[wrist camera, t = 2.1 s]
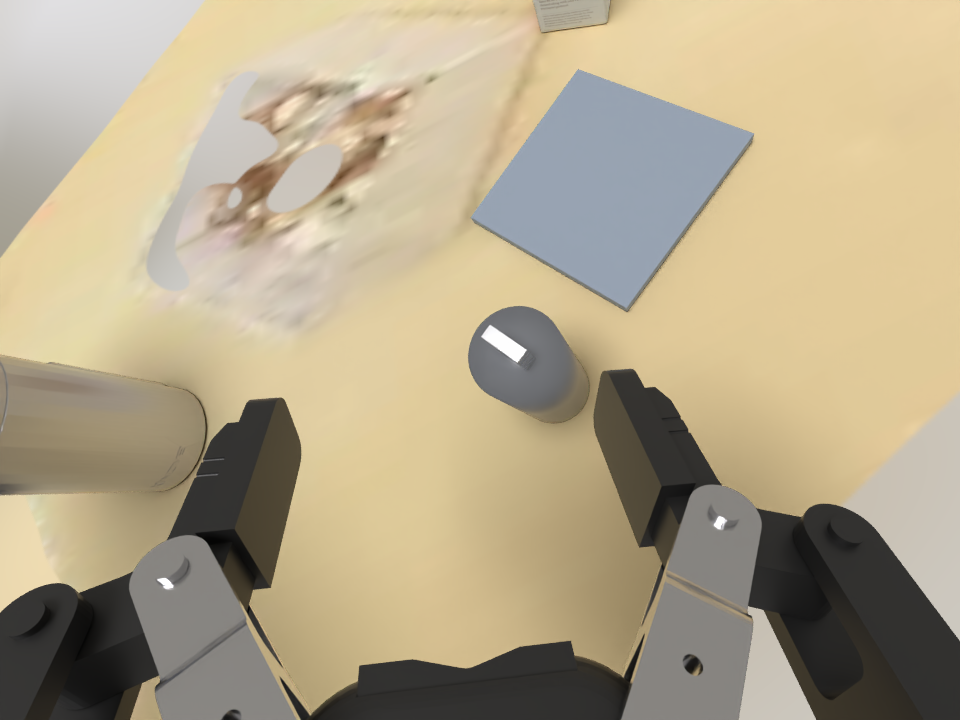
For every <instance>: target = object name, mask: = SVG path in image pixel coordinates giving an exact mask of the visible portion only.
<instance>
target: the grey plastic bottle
mask: <svg viewBox="0 0 960 720" xmlns="http://www.w3.org/2000/svg"><path fill="white" fill-rule="evenodd" d="M468 361H469V368H470V371H471V374H472V376H473V378H474V380H475V382H476V383H477V384H478V386H479V387H480V388H481V389H482V390H483V391H484V392H486V393H487V394H489V395H490V396H492V397H494V398H496V399H498V400H500V401H502V402H504V403H506V404H508V405H510V406H512V407H514V408H516V409H518V410H520V411H522V412H524V413H526V414H528V415H530V416H532V417H534V418H536V419H538V420H540V421H543V422H547V423H560V422H564V421H567V420H569V419H571V418H573V417H574V416H576V415H577V414H578V413H579V412H580V411H581V410H582V408H583V407H584V405H585V403H586V401H587V399H588V395H589V380H588V377H587V374H586V372H585V370H584V368H583V367H582V365H581V364H580V362H579V361H578V359H577V358H576V356H575V355H574V353H573V352H572V350H571V348H570V347H569V345H568V344H567V342H566V341H565V339H564V338H563V336H562V335H561V333H560V332H559V330H558V329H557V327H556V326H555V324H554V323H553V322H552V320H551V319H550V318H549V317H547V316H546V315H545V314H543V313H542V312H540V311H538V310H536V309H533V308H529V307H524V306H514V307H508V308H504V309H501V310H499V311H497V312H495V313H493V314H492V315H490V316H489V317H488V318H486V319H485V320H484V321H483V322H482V323H481V324H480V326H479V327H478V328H477V330H476V331H475V333H474V335H473V337H472V340H471V343H470V347H469V353H468Z"/></svg>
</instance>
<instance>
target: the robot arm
mask: <svg viewBox="0 0 960 720" xmlns="http://www.w3.org/2000/svg"><path fill="white" fill-rule="evenodd" d="M680 417H681V416H680V415H679V413H678V411H677V410H676V408H675V406H674V404H673V403H672V401H671V400H670V399H669V398H668V397H666V396H665V395H664V394H663V393H662V392H660V391H659V390H658V389H657V388H656V387H650V388H644V386H643V384H642V382H641V380H640V378H639V377H638V375H637V373H636V372H635V370H633V369H624V370H611V371H603V372H602V374H601V378H600V383H599V388H598V393H597V399H596V404H595V409H594V428H595V433H596V436H597V439H598V442H599V444H600V447H601V449H602V452H603V455H604V457H605V460H606V462H607V465H608V468H609V470H610V473H611V475H612V478H613V481H614V483H615V486H616V488H617V491H618V494H619V496H620V499H621V502H622V504H623V507H624V509H625V512H626V515H627V517H628V520H629V522H630V525H631V528H632V530H633V533H634V535H635V538H636V541H637V543H638V546H639V547H649V546H655V548H656V550H657V553H658V555H659V557H660V560H661V564H660V567H659V570H658V573H657V576H656V579H655V582H654V585H653V588H652V591H651V594H650V597H649V600H648V603H647V606H646V609H645V612H644V615H643V618H642V621H641V624H640V627H639V630H638V633H637V636H636V638H635V641H634V644H633V646H632V649H631V651H630V654H629V657H628V659H627V662H626V665H625V668H624V671H623V674H622V676H621V675H619V674H618V673H616V672H614V671H613V670H611V669H610V668H608V667H606V666H604V665H602V664H600V663H598V662H596V661H593V660H590V659H587V658H584V657H579V656H574V652H573V648H572V643H571V641H566V642H557V643H548V644H540V645H531V646H523V647H519V648H516V649H514V650H512V651H509V652H507V653H505V654H502V655H500V656H498V657H495V658H493V659H491V660H488V661H486V662H484V663H481V664H479V665H477V666H475V667H472V668H467V669H465V668H458V667H452V666H446V665H441V664H435V663H430V662H424V661H418V660H413V659H412V660H403V661H395V662H386V663H378V664H369V665H361V666H359V676H358V682H356V683H353V684H351V685H349V686H347V687H346V688H344V689H342V690H340V691H339V692H337V693H336V694H334V695H333V696H332V697H330V698H329V699H328V700H326V701H325V702H324V703H323V704H322V705H321V706H320V707H319V708H317V709H316V710H315V711H314V712H313V713H312V712H311V711H310V709H309V707H308V705H307V704H306V702H305V700H304V698H303V697H302V695H301V693H300V692H299V690H298V688H297V687H296V685H295V684H294V682H293V680H292V679H291V677H290V675H289V674H288V672H287V670H286V668H285V666H284V665H283V663H282V661H281V659H280V657H279V655H278V654H277V652H276V650H275V648H274V646H273V644H272V643H271V641H270V639H269V637H268V635H267V634H266V632H265V630H264V628H263V626H262V624H261V623H260V621H259V619H258V617H257V615H256V613H255V612H254V610H253V608H252V607H251V605H250V604H249V602H250V599H251V595H252V591H253V590H255V589H264V588H271V584H272V580H273V576H274V572H275V567H276V563H277V559H278V555H279V551H280V546H281V542H282V538H283V534H284V530H285V525H286V521H287V517H288V513H289V509H290V504H291V500H292V496H293V492H294V488H295V484H296V479H297V475H298V471H299V467H300V462H301V444H300V439H299V436H298V434H297V431H296V428H295V426H294V423H293V420H292V418H291V415H290V412H289V410H288V407H287V404H286V402H285V400H284V399H283V398H268V399H256V400H249V401H248V402H247V403H246V405H245V408H244V410H243V413H242V415H241V418H240V420H239V422H235V423H227V424H226V425H225V426H224V427H223V428H222V429H221V430H220V432H219V433H218V434H217V435H216V436H215V437H214V438H213V439H212V440H211V442H210V444H209V447H208V449H207V451H206V453H205V456H204V458H203V463H201V465H200V467H199V469H198V472H197V474H196V475H197V477H196V478H194V481H193V483H192V485H191V488H190V490H189V492H188V494H187V497H186V499H185V501H184V503H183V506H182V508H181V510H180V513H179V515H178V517H177V519H176V522H175V524H174V526H173V528H172V531H171V533H170V535H169V537H168V539H167V541H165V542H163V543H161V544H159V545H158V546H156V547H155V548H153V549H152V550H151V551H150V552H148V553H147V554H146V555H145V556H144V557H143V558H142V559H141V561H140V562H139V563H138V564H137V566H136V568H135V569H134V571H133V572H131V573H129V574H127V575H125V576H122V577H120V578H117V579H115V580H112V581H110V582H107V583H104V584H102V585H99V586H96V587H94V588H91V589H88V590H86V591H83V592H80V593H78V592H77V591H76V590H75V589H73V588H72V587H71V586H69V585H66V584H61V583H55V584H48V585H44V586H41V587H38V588H36V589H33V590H31V591H29V592H27V593H25V594H24V595H22V596H20V597H19V598H17V599H16V600H15V601H13V602H12V603H11V604H9V605H8V606H7V607H6V608H5V609H4V610H3V611H2V612H1V613H0V720H130V718H131V715H132V712H133V709H134V706H135V703H136V700H137V697H138V694H139V691H140V688H141V685H142V683H143V682H145V681H148V680H150V679H152V678H154V677H156V676H160V683H159V684H158V685H156V687H155V696H156V701H157V704H158V707H159V710H160V713H161V716H162V719H163V720H738V719H739V712H740V706H741V700H742V694H743V688H744V682H745V676H746V670H747V663H748V657H749V651H750V645H751V639H752V632H753V619H752V616H750V615H748V612H747V609H748V606H750V607H754V608H758V609H762V610H764V612H765V614H766V616H767V618H768V620H769V622H770V624H771V626H772V628H773V631H774V633H775V635H776V637H777V639H778V641H779V643H780V645H781V647H782V649H783V651H784V653H785V655H786V658H787V659H788V662H789V664H790V666H791V668H792V670H793V672H794V674H795V676H796V678H797V680H798V682H799V685H800V686H801V689H802V691H803V693H804V695H805V697H806V699H807V701H808V703H809V705H810V707H811V709H812V711H813V714H814V716H815V717H816V720H960V641H959V639H958V638H957V637H956V635H955V634H954V633H953V632H952V630H951V629H950V627H949V626H948V625H947V623H946V622H945V621H944V620H943V618H942V617H941V616H940V614H939V613H938V612H937V610H936V609H935V608H934V606H933V605H932V604H931V602H930V601H929V600H928V598H927V597H926V596H925V594H924V593H923V592H922V590H921V589H920V588H919V586H918V585H917V584H916V582H915V581H914V580H913V578H912V577H911V576H910V575H909V573H908V572H907V570H906V569H905V568H904V566H903V565H902V564H901V562H900V561H899V560H898V558H897V557H896V556H895V555H894V553H893V552H892V550H891V549H890V548H889V546H888V545H887V544H886V542H885V541H884V540H883V538H882V537H881V536H880V534H879V533H878V532H877V531H876V529H875V528H874V527H873V526H872V525H871V524H870V523H868V522H867V521H866V520H865V519H864V518H862V517H861V516H859V515H858V514H856V513H854V512H852V511H850V510H848V509H846V508H843V507H840V506H837V505H832V504H817V505H814V506H812V507H810V508H809V509H808V510H807V511H806V512H805V514H804V515H803V516H802V517H797V516H792V515H787V514H781V513H776V512H771V511H766V510H761V509H757V508H755V506H754V505H753V504H752V503H751V502H750V501H749V500H748V499H747V498H746V497H745V496H743V495H742V494H740V493H739V492H737V491H735V490H733V489H731V488H728V487H725V486H722V485H721V484H720V482H719V481H718V479H717V477H716V476H715V474H714V472H713V471H712V469H711V467H710V465H709V464H708V462H707V460H706V459H705V457H704V455H703V454H702V452H701V450H700V449H699V447H698V445H697V443H696V442H695V440H694V438H693V437H692V435H691V433H689V432H688V428H687V426H686V425H685V423H684V421H683V420H681V418H680ZM205 429H206V427H205V417H204V413H203V409H202V407H201V405H200V403H199V401H198V400H197V399H196V397H195V396H194V395H193V394H191V393H190V392H188V391H187V390H183V389H179V388H174V387H168V386H165V385H164V384H163V383H158V382H152V381H147V380H142V379H137V378H132V377H126V376H121V375H116V374H111V373H106V372H100V371H95V370H90V369H85V368H80V367H75V366H69V365H64V364H59V363H53V362H50V363H42V362H37V361H32V360H26V359H21V358H16V357H10V356H5V355H0V495H33V494H73V493H117V492H155V491H164V490H169V489H171V488H173V487H175V486H177V485H178V484H179V483H181V482H182V481H183V480H184V479H185V478H186V477H187V476H188V475H189V473H190V472H191V471H192V470H193V468H194V466H195V465H196V463H197V461H198V459H199V456H200V454H201V451H202V448H203V444H204V440H205Z"/></svg>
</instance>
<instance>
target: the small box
mask: <svg viewBox="0 0 960 720" xmlns="http://www.w3.org/2000/svg"><path fill="white" fill-rule="evenodd" d="M533 3H534V7H535V10H536V14H537V18H538V22H539V26H540V30H541V32H549V31H556V30H562V29H569V28H577V27H584V26H591V25H598V24H604V23H607V20H608V13H609V6H610V0H533Z"/></svg>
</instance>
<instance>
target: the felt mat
mask: <svg viewBox="0 0 960 720" xmlns="http://www.w3.org/2000/svg"><path fill="white" fill-rule="evenodd" d="M753 136H754V133H751V132H748V131H745V130H743V129H740V128H737V127H734V126H732V125H729V124H726V123H723V122H721V121H718V120H715V119H713V118H710V117H707V116H704V115H702V114H699V113H696V112H693V111H691V110H688V109H685V108H682V107H680V106H677V105H674V104H672V103H669V102H666V101H663V100H661V99H658V98H655V97H652V96H650V95H647V94H644V93H641V92H639V91H636V90H633V89H631V88H628V87H625V86H622V85H620V84H617V83H614V82H611V81H609V80H606V79H603V78H600V77H598V76H595V75H592V74H590V73H587V72H584V71H581V70H579V69H578V70H577V71H576V73H575V74H574V76H573V77H572V78H571V80H570V81H569V82H568V84H567V85H566V87H565V88H564V89H563V91H562V92H561V93H560V95H559V96H558V98H557V99H556V100H555V102H554V103H553V105H552V106H551V107H550V109H549V110H548V111H547V113H546V114H545V116H544V117H543V118H542V120H541V121H540V122H539V124H538V125H537V127H536V128H535V129H534V131H533V132H532V134H531V135H530V136H529V138H528V139H527V140H526V142H525V143H524V145H523V146H522V147H521V149H520V150H519V151H518V153H517V154H516V156H515V157H514V158H513V160H512V161H511V163H510V164H509V165H508V167H507V168H506V169H505V171H504V172H503V174H502V175H501V176H500V178H499V179H498V181H497V182H496V183H495V185H494V186H493V187H492V189H491V190H490V192H489V193H488V194H487V196H486V197H485V198H484V200H483V201H482V203H481V204H480V205H479V207H478V208H477V210H476V211H475V212H474V214H473V215H472V216H471V218H472V220H473V221H474V223H476V224H478V225H479V226H481V227H483V228H485V229H486V230H488V231H490V232H491V233H493V234H495V235H497V236H498V237H500V238H502V239H503V240H505V241H507V242H509V243H510V244H512V245H514V246H515V247H517V248H519V249H520V250H522V251H524V252H526V253H527V254H529V255H531V256H532V257H534V258H536V259H538V260H539V261H541V262H543V263H544V264H546V265H548V266H549V267H551V268H553V269H555V270H556V271H558V272H560V273H561V274H563V275H565V276H567V277H568V278H570V279H572V280H573V281H575V282H577V283H579V284H580V285H582V286H584V287H585V288H587V289H589V290H590V291H592V292H594V293H596V294H597V295H599V296H601V297H602V298H604V299H606V300H608V301H609V302H611V303H613V304H614V305H616V306H618V307H619V308H621V309H623V310H625V311H626V312H627V311H628V310H629V309H630V307H631V306H632V305H633V303H634V302H635V300H636V299H637V298H638V296H639V295H640V294H641V292H642V291H643V290H644V288H645V287H646V285H647V284H648V283H649V281H650V280H651V279H652V277H653V276H654V275H655V273H656V272H657V270H658V269H659V268H660V266H661V265H662V264H663V262H664V261H665V260H666V258H667V257H668V255H669V254H670V253H671V251H672V250H673V249H674V247H675V246H676V245H677V243H678V242H679V240H680V239H681V238H682V236H683V235H684V234H685V232H686V231H687V230H688V228H689V227H690V225H691V224H692V223H693V221H694V220H695V219H696V217H697V216H698V214H699V213H700V212H701V210H702V209H703V208H704V206H705V205H706V204H707V202H708V201H709V199H710V198H711V197H712V195H713V194H714V193H715V191H716V190H717V189H718V187H719V186H720V184H721V183H722V182H723V180H724V179H725V178H726V176H727V175H728V174H729V172H730V171H731V169H732V168H733V167H734V165H735V164H736V163H737V161H738V160H739V159H740V157H741V156H742V154H743V153H744V152H745V150H746V149H747V148H748V146H749V145H750V144H751V142H752V140H753Z"/></svg>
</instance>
